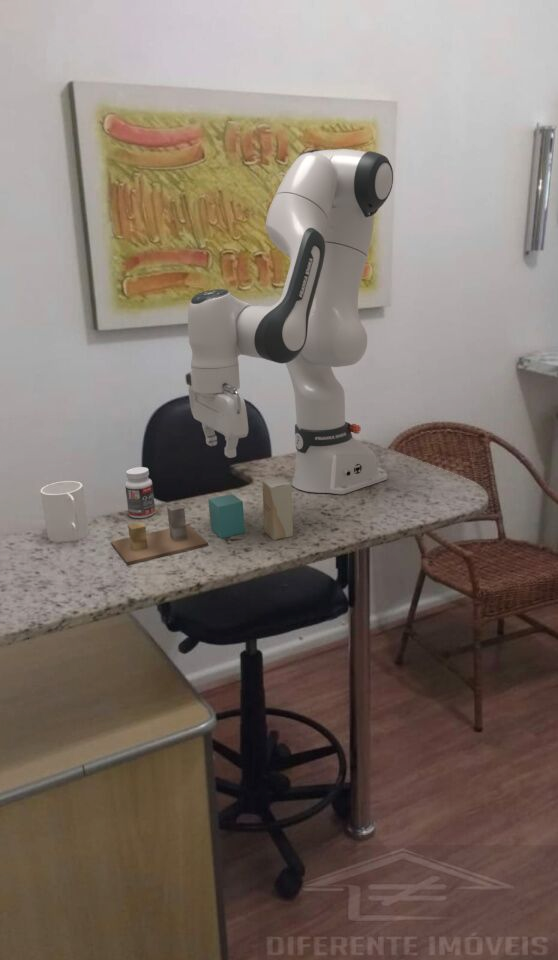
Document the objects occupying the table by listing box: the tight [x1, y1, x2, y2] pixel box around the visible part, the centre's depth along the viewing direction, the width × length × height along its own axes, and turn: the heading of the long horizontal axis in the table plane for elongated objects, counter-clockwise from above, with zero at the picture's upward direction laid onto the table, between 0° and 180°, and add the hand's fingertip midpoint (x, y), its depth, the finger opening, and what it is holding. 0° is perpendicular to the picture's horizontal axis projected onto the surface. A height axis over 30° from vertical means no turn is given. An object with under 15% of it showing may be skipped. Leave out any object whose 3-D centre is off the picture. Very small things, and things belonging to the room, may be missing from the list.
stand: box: [111, 503, 209, 566], centre depth 144 cm, size 16×11×7 cm
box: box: [261, 476, 294, 541], centre depth 145 cm, size 5×4×11 cm
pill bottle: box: [124, 466, 156, 519], centre depth 160 cm, size 6×6×10 cm
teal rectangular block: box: [208, 493, 246, 539], centre depth 149 cm, size 5×5×7 cm
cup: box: [40, 480, 90, 543], centre depth 150 cm, size 8×12×10 cm
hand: (221, 450), depth 144 cm, fingers open, 8 cm apart
